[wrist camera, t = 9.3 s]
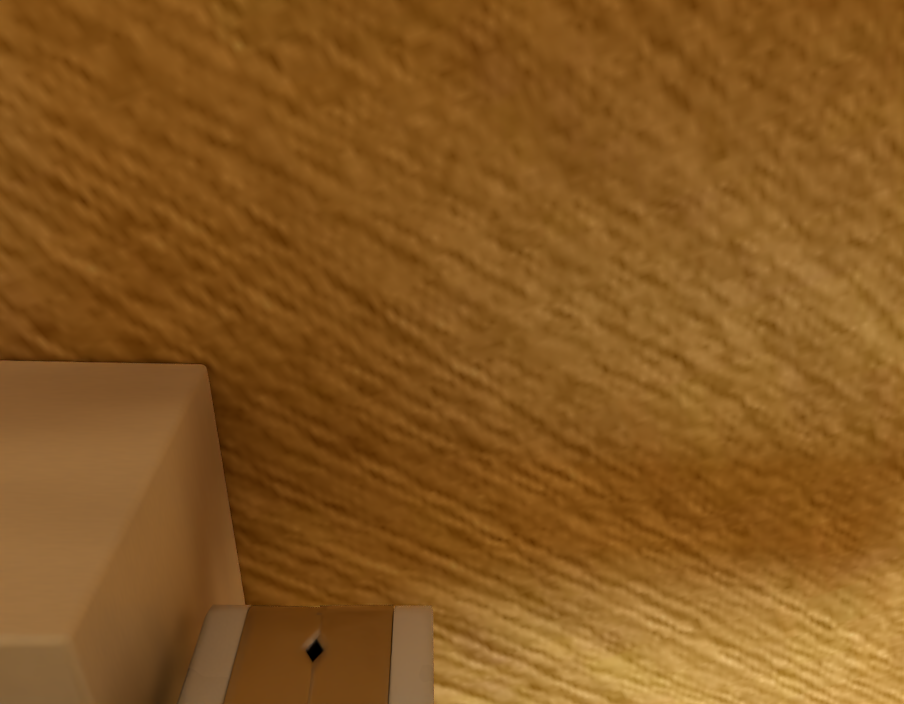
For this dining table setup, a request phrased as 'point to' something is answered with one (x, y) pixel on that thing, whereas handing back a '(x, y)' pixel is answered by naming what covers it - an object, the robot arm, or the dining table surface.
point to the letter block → (108, 530)
